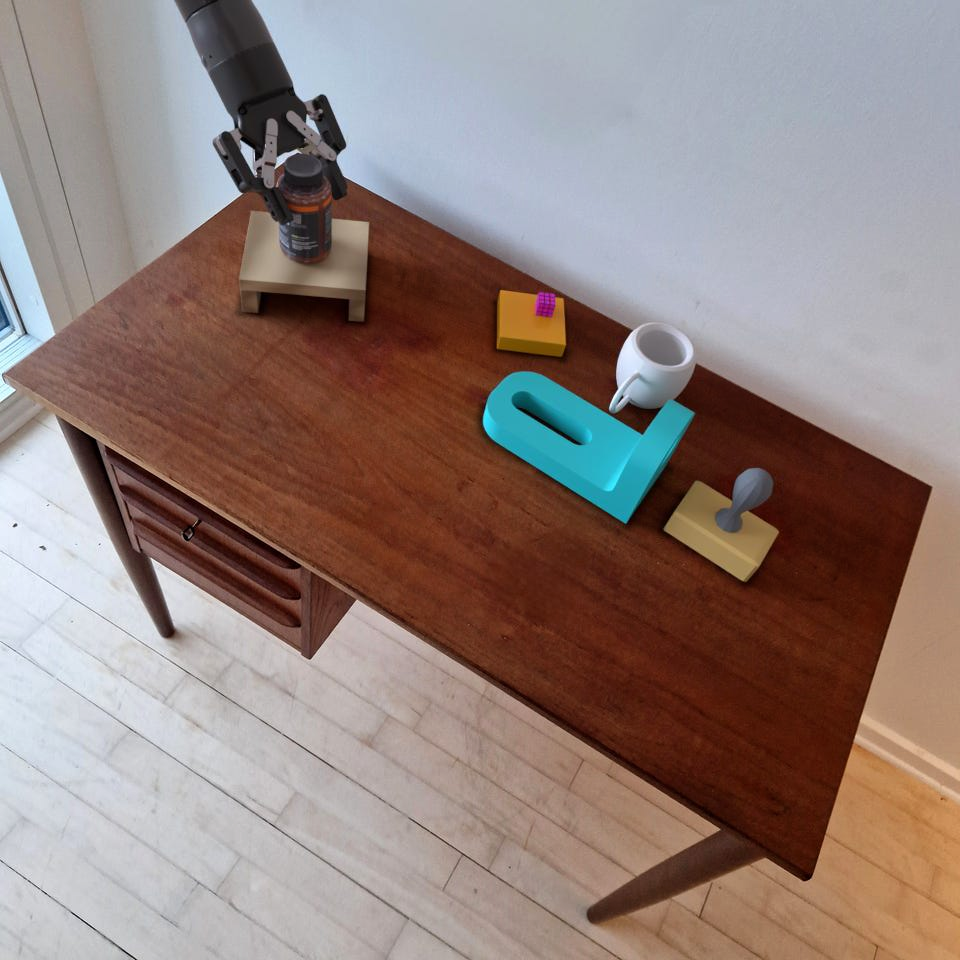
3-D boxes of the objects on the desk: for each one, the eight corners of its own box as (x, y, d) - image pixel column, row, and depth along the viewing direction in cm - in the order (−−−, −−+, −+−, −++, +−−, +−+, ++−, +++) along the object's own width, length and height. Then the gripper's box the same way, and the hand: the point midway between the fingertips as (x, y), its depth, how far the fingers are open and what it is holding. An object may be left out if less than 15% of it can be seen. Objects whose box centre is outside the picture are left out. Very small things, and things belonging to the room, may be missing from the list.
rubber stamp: (765, 547, 90) (819, 484, 80) (744, 584, 87) (797, 523, 77) (685, 496, 92) (728, 429, 82) (661, 531, 89) (703, 465, 79)
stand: (242, 312, 98) (238, 279, 94) (253, 243, 104) (251, 210, 100) (363, 321, 100) (365, 290, 96) (367, 254, 106) (369, 222, 102)
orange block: (561, 357, 101) (570, 332, 98) (496, 349, 100) (502, 323, 97) (559, 311, 106) (567, 285, 102) (497, 302, 105) (503, 276, 102)
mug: (635, 354, 104) (656, 307, 97) (690, 394, 101) (715, 349, 95) (575, 401, 98) (593, 355, 91) (632, 446, 95) (654, 401, 89)
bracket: (664, 468, 94) (703, 400, 84) (625, 523, 89) (662, 458, 79) (515, 378, 98) (536, 304, 89) (470, 426, 93) (487, 352, 84)
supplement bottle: (325, 229, 100) (325, 145, 91) (336, 263, 97) (338, 179, 88) (274, 234, 99) (270, 148, 89) (284, 268, 96) (281, 183, 86)
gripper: (193, 62, 80) (277, 228, 86) (311, 23, 87) (381, 179, 93) (167, 88, 86) (248, 242, 92) (280, 49, 93) (348, 194, 99)
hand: (315, 210), depth 92 cm, fingers open, 7 cm apart
